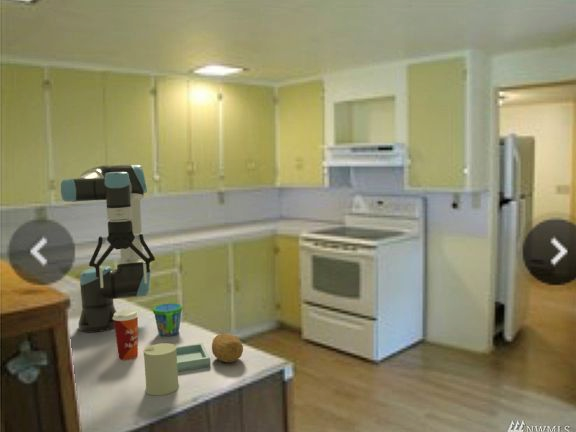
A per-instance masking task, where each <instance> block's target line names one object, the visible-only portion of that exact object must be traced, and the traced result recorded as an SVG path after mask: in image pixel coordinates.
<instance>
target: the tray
mask: <svg viewBox="0 0 576 432" xmlns="http://www.w3.org/2000/svg"><path fill="white" fill-rule="evenodd" d="M176 347H177V371H178V373H179V372H184V371H191V370H197V369H202V368H209V367H211V357H210V355H209V353H208V351H207V348H206V346H205V345H204V343H203V342H201V343H193V344H186V345H185V344H184V345H178V346H176Z"/></svg>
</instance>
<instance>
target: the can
mask: <svg viewBox="0 0 576 432" xmlns="http://www.w3.org/2000/svg"><path fill="white" fill-rule="evenodd" d="M177 347H178V346H176V344H173V343H165V342H161V343H156V344H151V345H149V346H146V347H145V348H144V349H143V357H144V358H143V359H144V361H143V362H144V372H145V373H144V374H145V392H146V393H147V394H148V395H152V396H163V395H164V396H165V395H169V394H172V393H174V392H176V391H177V390H178V389H179V388H180V384H179V374H178V373H179V372H178V371H177Z"/></svg>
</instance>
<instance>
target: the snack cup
mask: <svg viewBox="0 0 576 432" xmlns="http://www.w3.org/2000/svg"><path fill="white" fill-rule="evenodd" d="M182 310H183V306H182V304H180V303H175V302H174V303H173V302H168V303H162V304H161V303H160V304H157V305H156V306H154V307H153V309H152V313H153V314H154V317H155V323H156V327H157V332H158V334H159V335H160V336H161V337H162V336H164V337H170V336H174V335H177V334H179V332H180V326H181V317H182V315H181V314H182Z"/></svg>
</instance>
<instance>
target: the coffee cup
mask: <svg viewBox="0 0 576 432" xmlns="http://www.w3.org/2000/svg"><path fill="white" fill-rule="evenodd" d="M139 316H140V315H139V314H138V311H137V310H135V309H122V310H118V311H116V312H115V313H114V316H113V318H112V319H113V320H114V326H115V328H114V331H115V340H116V347H117V355H118V359H119V360H121V361H130V360H134V359H136V358H137V357H138V354H139V352H138V350H139V348H138V347H139V345H138V343H139V340H138V339H139V337H138V335H139V333H138V332H139V331H138V329H139V328H138V326H139V323H138V322H139V320H138V318H139Z"/></svg>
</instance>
